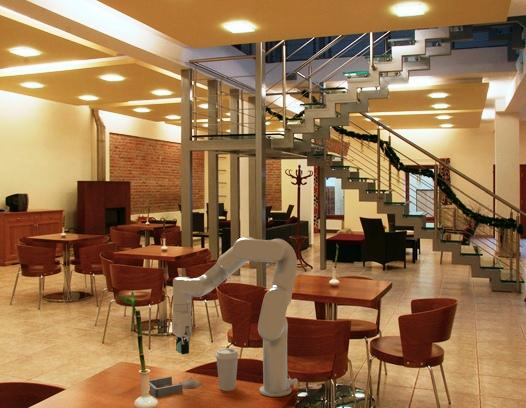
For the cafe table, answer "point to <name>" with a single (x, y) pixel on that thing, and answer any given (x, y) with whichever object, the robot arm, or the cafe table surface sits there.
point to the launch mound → (190, 384)
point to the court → (164, 390)
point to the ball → (179, 346)
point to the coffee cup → (227, 368)
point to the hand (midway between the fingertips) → (182, 351)
